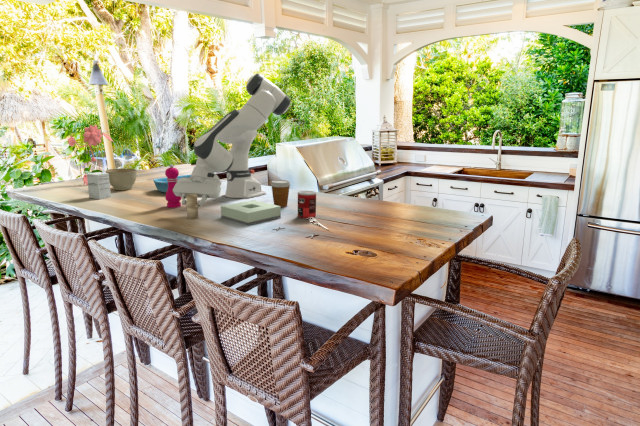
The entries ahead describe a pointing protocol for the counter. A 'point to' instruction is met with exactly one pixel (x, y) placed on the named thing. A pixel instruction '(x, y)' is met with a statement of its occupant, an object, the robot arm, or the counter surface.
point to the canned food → (306, 204)
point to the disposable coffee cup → (280, 192)
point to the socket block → (250, 212)
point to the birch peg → (192, 206)
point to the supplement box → (98, 185)
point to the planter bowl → (122, 178)
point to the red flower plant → (90, 142)
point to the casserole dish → (165, 183)
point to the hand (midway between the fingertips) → (191, 204)
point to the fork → (316, 223)
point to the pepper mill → (172, 180)
